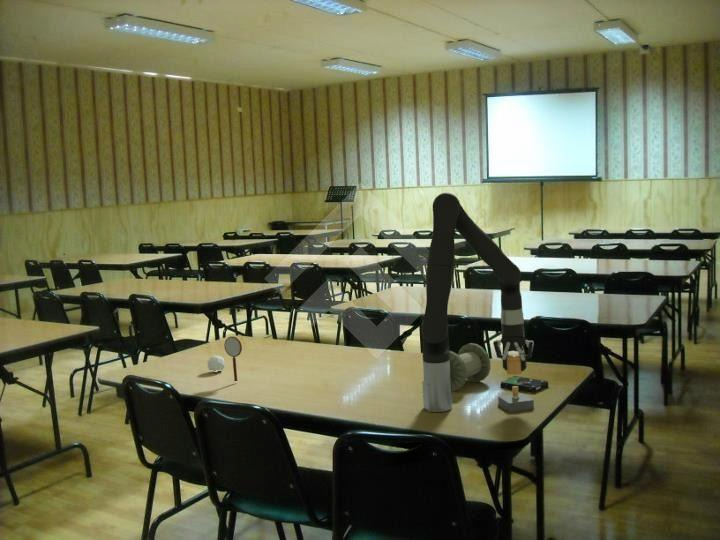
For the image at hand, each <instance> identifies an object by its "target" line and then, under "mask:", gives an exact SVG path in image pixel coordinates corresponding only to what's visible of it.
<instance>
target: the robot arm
mask: <svg viewBox="0 0 720 540" xmlns="http://www.w3.org/2000/svg"><path fill="white" fill-rule="evenodd" d="M432 217H433V218H432V236H431V242H430V245H429V249H428V255H427V260H426V261H427V262H426V273H425V291H426V301H425V302H426V304H425V309H424V310H425V311H424V315H423V319H422V321H421V325H420V326H421V328H420V332H421V345H422V366H423V381H422V383H421V384H422V399H423V401H422V402H423V409H425V411H427V412H428V413H442V412H447V411H450V410H452V408H453V404H452V403H453V401H452V391H451V378H450V358H449V351H450V344H449V343H450V342H449V324H448V308H449V306H448V305H449V301H450V295H451V290H452V286H453V280H454V272H455V261H456V260H455V259H456V257H455V256H456V255H455V254H456V253H455V252H456V248H455V234H456V231H457V232H458V233H459V235H460V236H461V237H462V238H463V239H464V240H465V242H466V243H467V245H468V246H470V248H471V249H472V250H473V252H475V254H476V255H478V257H479V258H480V259H481V261H483V262H484V263H485V264H486V265H487V266H488V267H489V268H490V269H491V270H492V271H493V272H494V274H495V275H496V276H497V278H498V280H499V286H500V322H501V338H500V339H495V340H494V341H493V343H492V344H493V348H494V351H495V355H496V358H497V359H501V360H502V369H503V370H504V371H507V362H506V360H507V355H509V354H510V352H517V354H519V355H520V357H521V359H522V360H521V370H522V371H523V372H525V370H526V369H527V367H528V366H527V360H530V359H531V358H532V356H533V350H534V344H535V341H534V340H528V339H527V338H526V337H525V319H524V318H525V317H524V312H523V311H524V310H523V298H522V293H521V285H520V284H521V283H520V282H521V278H522V271H521V270H520V268H519V266H518V265H517V264H515V263H514V262H513V261H512V260H511V259H510V258H509V257H508V256H507V255H506V254H505V253H504V252H503V250H502V249H501V247H500V246H499V245H498V244H497V243H496V242H495V241H494V240H493V239H492V238H491V236H489V235H488V234H487V233H486V232H485V231H484V230H483V229H481V228H480V226H479V225H477V223H476V222H475V221H474V220H473V219H472V218H471V217H470V216H469V215H468V214H467V212H466V211H465V209H464V207H463V206H462V204H461V202H460V200H459V198H458V196H456V195H455V194H454V193H451V192H442V193H440V194H438V195H437V196H436V197H435V198H434V200H433V203H432ZM525 344H526V347H527V348H528V349H527V354H526V353H525V349H524V345H525ZM501 345H503V347H504V350H503V354H502V349H501V347H500V346H501Z"/></svg>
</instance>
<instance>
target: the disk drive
mask: <svg viewBox="0 0 720 540" xmlns="http://www.w3.org/2000/svg"><path fill="white" fill-rule="evenodd" d="M499 385H500V388H502V389H506V390H508V389H509V390H512V387H513V386H518V390H519V391H520V392H524V393H529V392H530V393H531V394H536V393H538V392H541V391H543V390H545V389H547V388H549V381H548V380H543V379H542V380H541V379H536V378H531V377H523V376H517V375H512V376H511V377H508V378H507V379H505V380H503V381H502V380H501V382H500V384H499ZM540 390H541V391H540ZM519 391H518V392H519Z"/></svg>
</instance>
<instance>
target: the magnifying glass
mask: <svg viewBox="0 0 720 540" xmlns="http://www.w3.org/2000/svg"><path fill="white" fill-rule="evenodd" d="M242 350H243V346H242V342H241V340H239V338H237V337H236V336H228V337H227V338H226V339H225V341H224V351H225V352H226V353H227V355H228V356H230V357H232V368H233V378H234V379H233V380H234V382H235V381H237V382H238V373H237V361H236V360H237V359H236V357H238V356H240V355H241V353H242Z"/></svg>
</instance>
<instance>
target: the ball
mask: <svg viewBox="0 0 720 540" xmlns="http://www.w3.org/2000/svg"><path fill="white" fill-rule="evenodd" d="M225 363H226V361H225V359H224V357H222V356H221V355H212V356H210V357H209V359H208V360H207V368H208V370H209V371H210V370H213V371H216V370H222V369H223V370H224V368H226V364H225ZM223 370H222V371H223Z"/></svg>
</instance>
